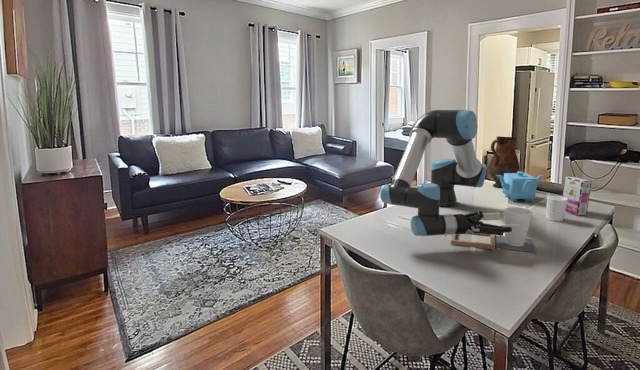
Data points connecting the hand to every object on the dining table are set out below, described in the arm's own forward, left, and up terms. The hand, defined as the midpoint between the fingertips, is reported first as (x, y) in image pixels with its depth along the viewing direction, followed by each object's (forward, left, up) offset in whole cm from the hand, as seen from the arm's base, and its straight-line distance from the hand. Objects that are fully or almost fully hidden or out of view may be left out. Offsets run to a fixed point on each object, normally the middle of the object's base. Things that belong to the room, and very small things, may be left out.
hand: (508, 221), depth 145 cm
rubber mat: (+3, +2, -9) cm, 10 cm away
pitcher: (+2, +96, -9) cm, 96 cm away
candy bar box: (+32, +53, -9) cm, 62 cm away
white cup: (+22, +39, -9) cm, 45 cm away
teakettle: (+10, +70, -9) cm, 71 cm away
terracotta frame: (-12, +2, -9) cm, 15 cm away
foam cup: (+3, +1, -9) cm, 10 cm away
